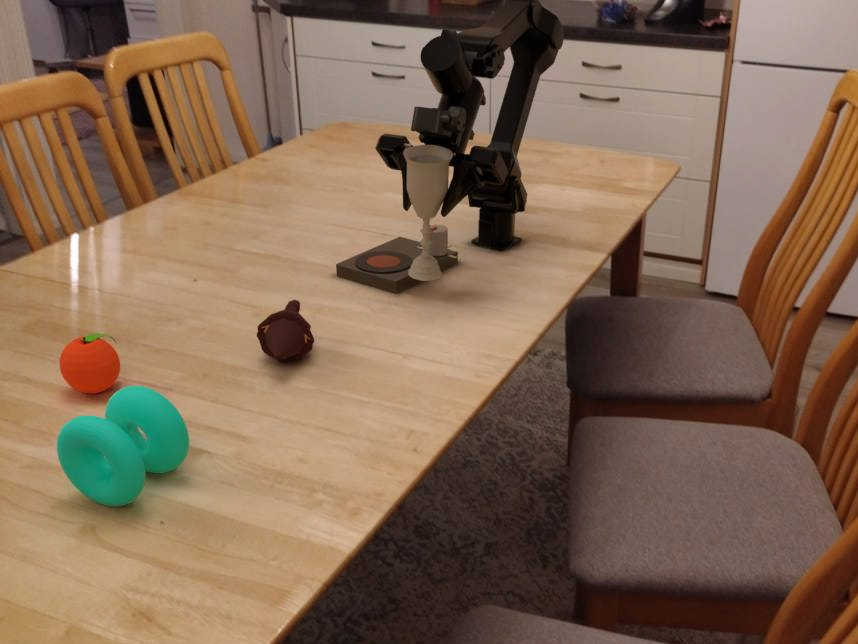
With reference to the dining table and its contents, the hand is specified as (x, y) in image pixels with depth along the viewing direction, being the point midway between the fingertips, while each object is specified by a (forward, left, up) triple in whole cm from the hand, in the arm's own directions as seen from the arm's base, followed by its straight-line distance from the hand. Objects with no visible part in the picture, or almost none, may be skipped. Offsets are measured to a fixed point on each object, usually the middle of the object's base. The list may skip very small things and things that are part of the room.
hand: (423, 212), depth 142 cm
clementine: (+47, -15, -13) cm, 51 cm away
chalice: (-2, -1, -10) cm, 10 cm away
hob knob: (-13, -7, -11) cm, 18 cm away
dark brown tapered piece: (+27, -2, -13) cm, 30 cm away
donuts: (+59, +6, -13) cm, 61 cm away
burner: (-4, -11, -11) cm, 17 cm away
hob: (-7, -11, -13) cm, 19 cm away
